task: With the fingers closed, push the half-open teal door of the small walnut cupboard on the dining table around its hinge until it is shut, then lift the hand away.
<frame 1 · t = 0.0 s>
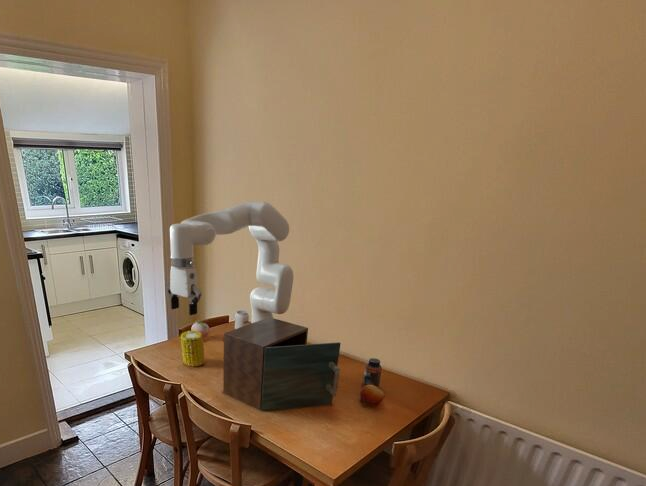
hand: (184, 311, 145), 31 cm above the table, tool pointing down, fingers open, 9 cm apart
door: (303, 381, 138), point 12 cm above the table, hinge at 35.0°
cupboard: (263, 389, 158), on the table
fruit: (370, 403, 148), on the table
decorative fruit: (200, 339, 206), on the table
food: (193, 363, 180), on the table
beverage can: (241, 334, 213), on the table
supplement bottle: (370, 387, 159), on the table
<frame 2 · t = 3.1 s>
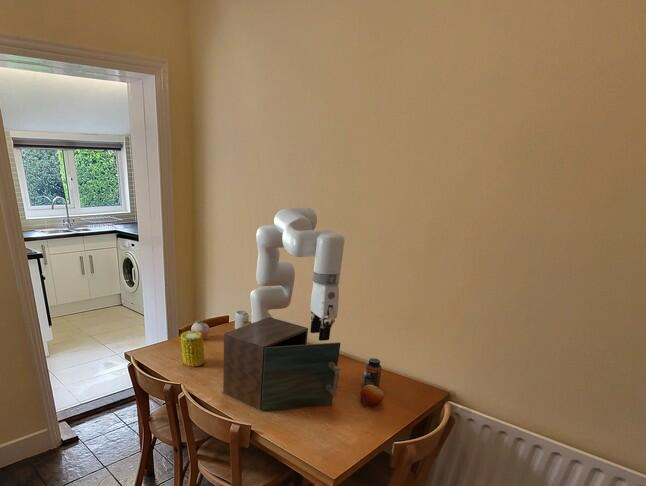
hand: (319, 335, 127), 30 cm above the table, tool pointing down, fingers open, 5 cm apart
nothing on the table moved.
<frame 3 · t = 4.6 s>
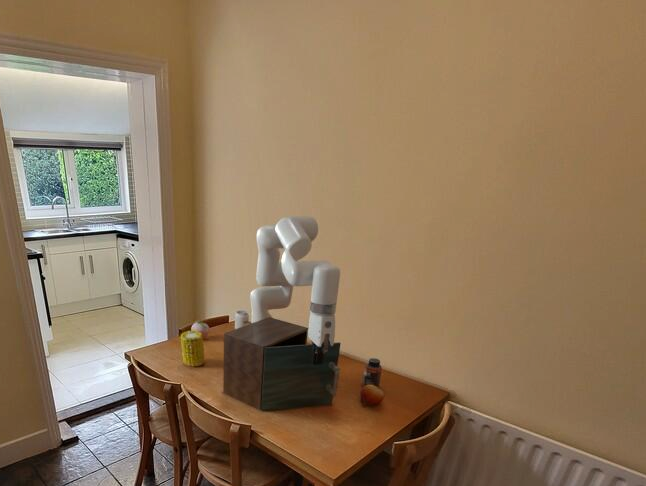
hand: (316, 363, 131), 20 cm above the table, tool pointing down, fingers closed
nothing on the table moved.
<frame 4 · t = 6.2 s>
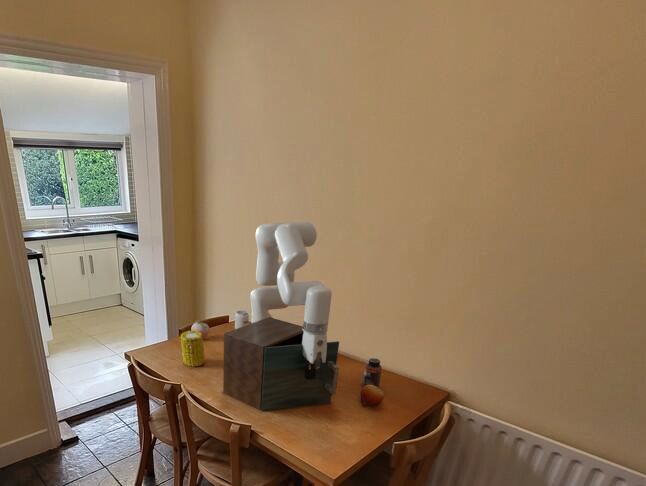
hand: (309, 378, 137), 13 cm above the table, tool pointing down, fingers closed
door: (302, 380, 138), point 12 cm above the table, hinge at 32.8°, touching gripper
everything else where it was.
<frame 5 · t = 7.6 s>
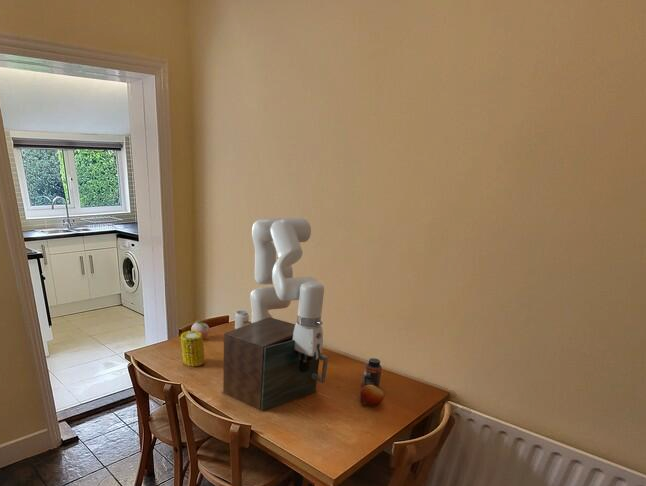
hand: (303, 370, 142), 13 cm above the table, tool pointing down, fingers closed
door: (297, 374, 142), point 12 cm above the table, hinge at 11.9°, touching gripper
everything else where it was.
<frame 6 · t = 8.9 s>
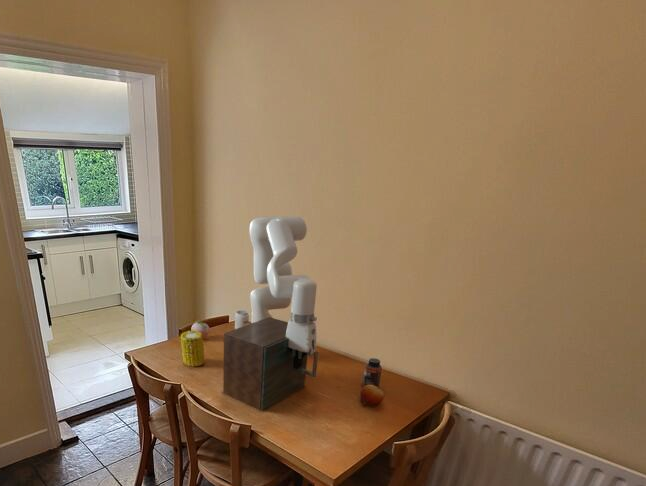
hand: (297, 367, 145), 13 cm above the table, tool pointing down, fingers closed
door: (292, 371, 145), point 12 cm above the table, hinge at -0.3°, touching gripper
everything else where it was.
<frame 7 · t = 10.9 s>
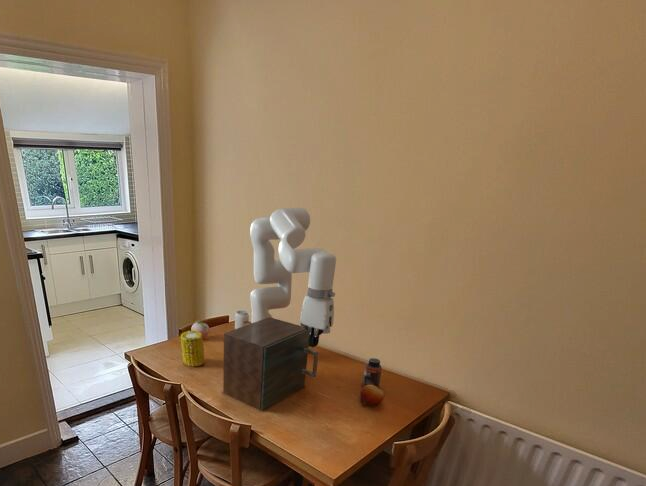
hand: (312, 345, 139), 22 cm above the table, tool pointing down, fingers closed
door: (292, 371, 145), point 12 cm above the table, hinge at -0.2°
everything else where it was.
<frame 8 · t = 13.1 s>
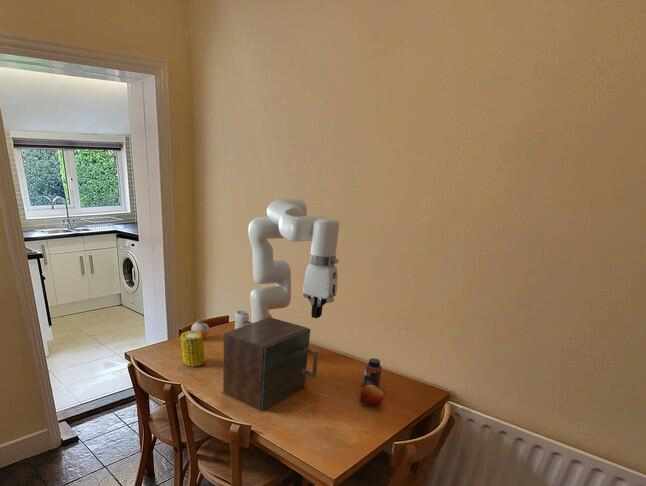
hand: (316, 316, 136), 32 cm above the table, tool pointing down, fingers closed
nothing on the table moved.
at the end: door at +0° (first picture: +35°) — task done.
